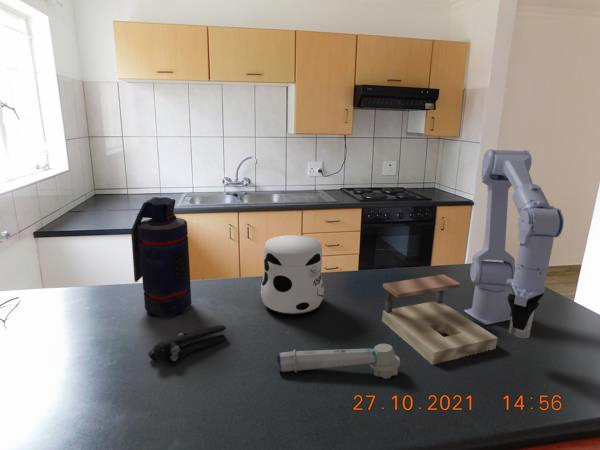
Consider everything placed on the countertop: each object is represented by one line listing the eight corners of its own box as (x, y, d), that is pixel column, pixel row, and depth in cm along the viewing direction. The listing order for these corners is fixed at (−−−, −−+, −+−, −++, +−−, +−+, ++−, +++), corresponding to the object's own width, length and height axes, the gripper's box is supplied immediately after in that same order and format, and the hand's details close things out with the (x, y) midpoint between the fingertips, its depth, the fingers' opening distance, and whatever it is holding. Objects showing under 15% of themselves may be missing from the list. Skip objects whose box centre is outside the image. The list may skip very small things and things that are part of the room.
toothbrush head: (278, 346, 87) (395, 335, 86) (282, 373, 89) (397, 362, 88) (276, 361, 82) (401, 349, 81) (280, 389, 84) (402, 377, 83)
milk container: (335, 309, 112) (339, 247, 107) (281, 327, 102) (282, 259, 97) (300, 287, 125) (301, 230, 120) (249, 300, 116) (249, 240, 111)
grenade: (196, 299, 116) (191, 195, 107) (184, 320, 104) (177, 205, 96) (148, 297, 116) (139, 193, 108) (130, 318, 104) (118, 204, 96)
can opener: (159, 375, 83) (157, 351, 82) (146, 359, 88) (144, 336, 87) (234, 345, 94) (233, 323, 93) (219, 332, 100) (218, 311, 98)
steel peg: (517, 327, 91) (523, 298, 89) (533, 336, 87) (539, 306, 86) (504, 330, 90) (509, 301, 88) (519, 339, 86) (525, 309, 84)
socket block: (438, 309, 113) (443, 274, 110) (497, 348, 95) (504, 307, 92) (379, 320, 106) (383, 283, 103) (430, 365, 88) (436, 321, 85)
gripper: (517, 251, 92) (507, 306, 96) (502, 270, 81) (492, 331, 85) (553, 259, 88) (541, 315, 92) (543, 279, 77) (530, 343, 81)
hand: (520, 324), depth 88 cm, fingers closed on steel peg, 4 cm apart
